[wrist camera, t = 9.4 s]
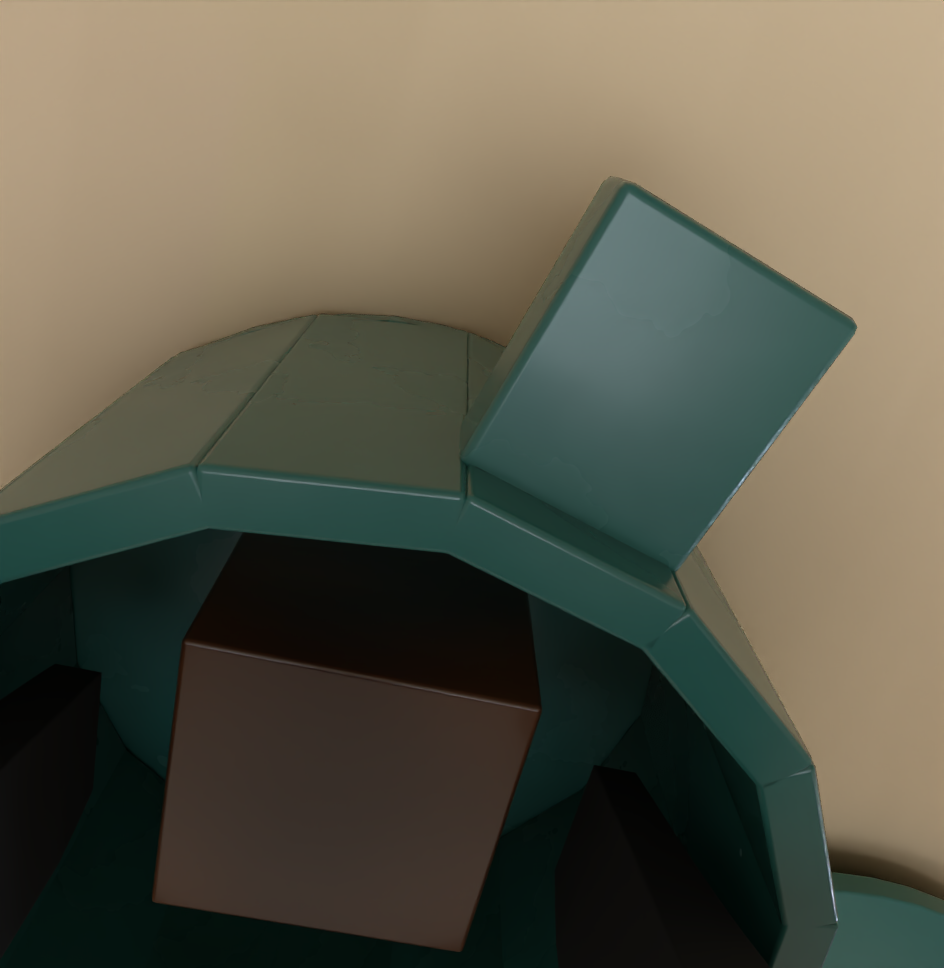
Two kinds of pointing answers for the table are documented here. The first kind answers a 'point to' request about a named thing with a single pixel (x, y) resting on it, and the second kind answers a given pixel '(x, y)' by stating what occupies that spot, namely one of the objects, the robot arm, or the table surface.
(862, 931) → the lid
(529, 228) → the table surface
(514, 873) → the tin
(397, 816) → the block
